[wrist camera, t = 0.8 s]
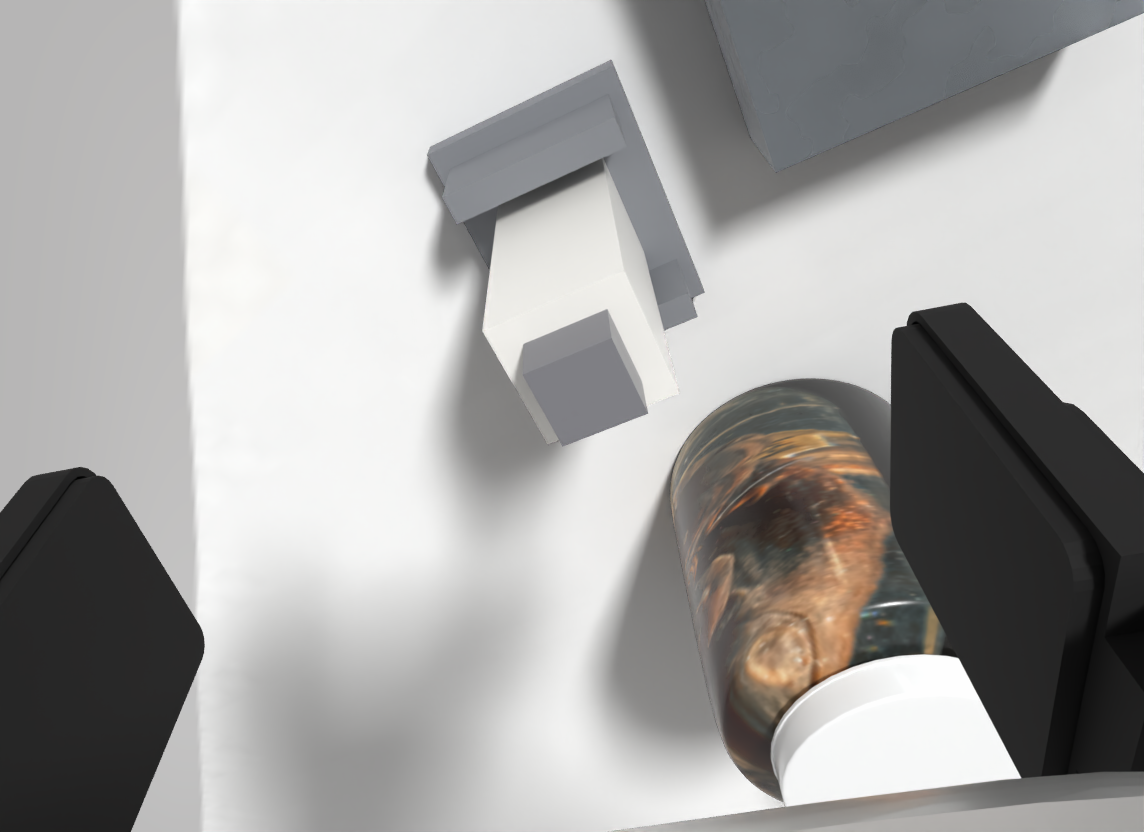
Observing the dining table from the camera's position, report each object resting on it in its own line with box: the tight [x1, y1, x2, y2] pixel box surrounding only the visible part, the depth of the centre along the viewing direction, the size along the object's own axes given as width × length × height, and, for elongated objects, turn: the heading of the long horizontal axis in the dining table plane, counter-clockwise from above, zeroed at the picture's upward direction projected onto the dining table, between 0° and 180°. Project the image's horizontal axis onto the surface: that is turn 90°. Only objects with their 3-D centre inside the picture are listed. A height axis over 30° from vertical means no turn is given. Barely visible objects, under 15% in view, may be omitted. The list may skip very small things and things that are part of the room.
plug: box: [482, 158, 680, 446], centre depth 27 cm, size 4×4×12 cm
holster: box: [427, 60, 705, 330], centre depth 31 cm, size 9×7×4 cm
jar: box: [670, 379, 1021, 807], centre depth 33 cm, size 12×12×15 cm
